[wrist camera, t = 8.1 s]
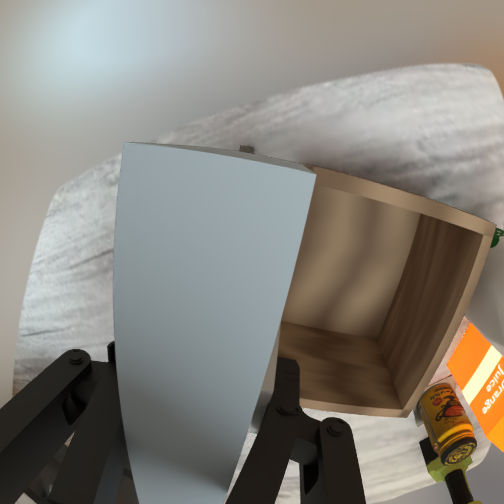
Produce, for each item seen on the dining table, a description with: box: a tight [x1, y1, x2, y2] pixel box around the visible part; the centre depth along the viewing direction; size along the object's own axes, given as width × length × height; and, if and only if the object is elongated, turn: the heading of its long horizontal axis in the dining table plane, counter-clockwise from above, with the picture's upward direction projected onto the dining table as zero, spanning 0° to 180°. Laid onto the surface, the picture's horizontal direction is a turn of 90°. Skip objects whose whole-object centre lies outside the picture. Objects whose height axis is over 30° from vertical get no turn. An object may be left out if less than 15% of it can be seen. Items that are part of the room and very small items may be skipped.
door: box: [113, 142, 317, 504], centre depth 13 cm, size 5×18×11 cm, turn 169°
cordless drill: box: [419, 437, 482, 504], centre depth 28 cm, size 23×7×25 cm, turn 39°
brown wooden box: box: [240, 145, 496, 418], centre depth 26 cm, size 20×20×13 cm
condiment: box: [413, 375, 477, 466], centre depth 31 cm, size 7×8×12 cm
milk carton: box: [464, 228, 504, 357], centre depth 21 cm, size 9×9×20 cm
